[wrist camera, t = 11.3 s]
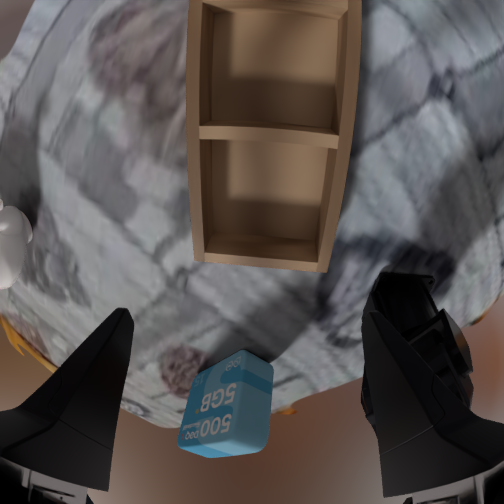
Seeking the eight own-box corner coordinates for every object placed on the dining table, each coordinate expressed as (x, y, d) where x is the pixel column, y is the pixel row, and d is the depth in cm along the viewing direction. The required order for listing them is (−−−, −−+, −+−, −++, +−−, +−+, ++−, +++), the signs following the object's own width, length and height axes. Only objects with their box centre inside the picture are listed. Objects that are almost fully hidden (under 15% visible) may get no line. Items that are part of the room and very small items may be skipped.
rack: (347, -68, 7) (357, -90, 4) (323, 244, 23) (329, 272, 19) (214, -75, 8) (201, -96, 5) (206, 234, 23) (194, 260, 20)
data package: (247, 344, 31) (233, 440, 21) (275, 360, 32) (268, 450, 22) (193, 374, 37) (174, 448, 27) (218, 387, 38) (204, 458, 28)
